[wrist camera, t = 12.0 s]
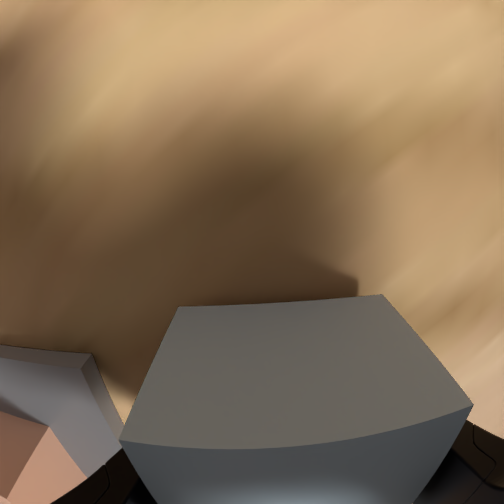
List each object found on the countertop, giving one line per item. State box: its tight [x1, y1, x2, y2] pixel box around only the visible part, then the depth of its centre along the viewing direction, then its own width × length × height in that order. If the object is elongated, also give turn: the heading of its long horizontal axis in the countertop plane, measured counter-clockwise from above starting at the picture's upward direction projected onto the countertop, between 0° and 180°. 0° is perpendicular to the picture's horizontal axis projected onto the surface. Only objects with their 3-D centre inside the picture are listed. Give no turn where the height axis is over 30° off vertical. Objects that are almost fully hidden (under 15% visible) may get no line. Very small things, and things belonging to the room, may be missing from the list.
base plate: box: [0, 345, 124, 478], centre depth 12 cm, size 14×14×1 cm
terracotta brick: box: [0, 411, 87, 504], centre depth 9 cm, size 6×6×5 cm
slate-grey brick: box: [118, 294, 474, 504], centre depth 7 cm, size 6×6×5 cm
